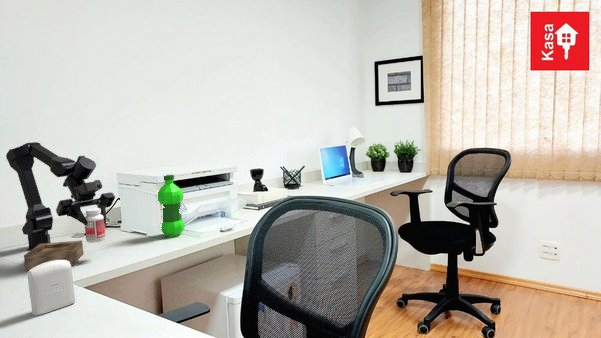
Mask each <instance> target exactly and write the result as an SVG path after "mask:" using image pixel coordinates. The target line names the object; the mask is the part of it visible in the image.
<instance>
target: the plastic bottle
mask: <svg viewBox="0 0 601 338" xmlns="http://www.w3.org/2000/svg"><path fill="white" fill-rule="evenodd" d="M165 175H166V176H164V175H163V176H164V180H163V181H164V184H163V185H162V186H160V188H159V189H160V190H159V189H158V190H159V192H158V200H157V202H158V201H159V202H158V203H160V205H161V204H163V206H164V207H165V208H163V223H162V227H161V228H162V229H160V231H161V230H162V231H161V233H162V232H163V233H164V235H165V236H166V237H167V238H171V237H172V238H174V237H177V236H178V237H179V236H180V234H182V232H183V231H184V229H185V227H186V226H185V225H186V224H185V222H184V220H183V219H182V213H181V214H180V213H179V209H180V207H181V208H182V205H181V204H182V203H181V202H182V201H183V200H184V192H183V189H182V188H180V187H179V186H177V185H176V184H175V183H174V180H175V174H165ZM163 233H162V234H163Z"/></svg>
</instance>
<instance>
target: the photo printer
mask: <svg viewBox="0 0 601 338" xmlns="http://www.w3.org/2000/svg"><path fill="white" fill-rule="evenodd" d="M72 269H73V268H72V267H71V264H70V262H69V261H67V260H54V261H49V262H46V263H43V264H40V265H38V266H36V267H34V268H32V269H30V270H29V271H27V281H28V291H29V298H30V307H31V313H32V315H33V316H40V315H43V314H46V313H51V312H53V311H55V310H59V309H61V308H64V307H66V306H69V305H72V304H75V303H76V294H75V286H74V278H73V277H74V276H73V270H72Z"/></svg>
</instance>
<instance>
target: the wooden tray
mask: <svg viewBox="0 0 601 338" xmlns="http://www.w3.org/2000/svg"><path fill="white" fill-rule="evenodd" d="M83 255H85V254H84V243H83V239H82V240H80V239H79V240H69V241H57V242H56V241H55V242H51V243H43V244H39V245H38V246H36V247H35V248H34V249H32V250H28V252H27V253H25V254H24V255H23V258H24V269H25V271H26V270H30V269H32V268H34V267H36V266H38V265H40V264H43V263H46V262H49V261H54V260H67V261H69V262H70V264H71V268H72V267H73V266H74V264H76V262H78V261H79V260H80V259H81V257H83Z"/></svg>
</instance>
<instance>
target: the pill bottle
mask: <svg viewBox="0 0 601 338" xmlns="http://www.w3.org/2000/svg"><path fill="white" fill-rule="evenodd" d="M100 213H101V209H100V208H98V207H96V208H95V207H94V208H89V209H86V210H85V215H86V216H84V217H85V218H86V220H87V223H88V224H87V225H84V231H85V233H84V234H85V239H86V242H87V243H89V244H91V243H92V244H93V243H101V242H104V240H106V226H105V221H104V217H103V215H101V214H100Z"/></svg>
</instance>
